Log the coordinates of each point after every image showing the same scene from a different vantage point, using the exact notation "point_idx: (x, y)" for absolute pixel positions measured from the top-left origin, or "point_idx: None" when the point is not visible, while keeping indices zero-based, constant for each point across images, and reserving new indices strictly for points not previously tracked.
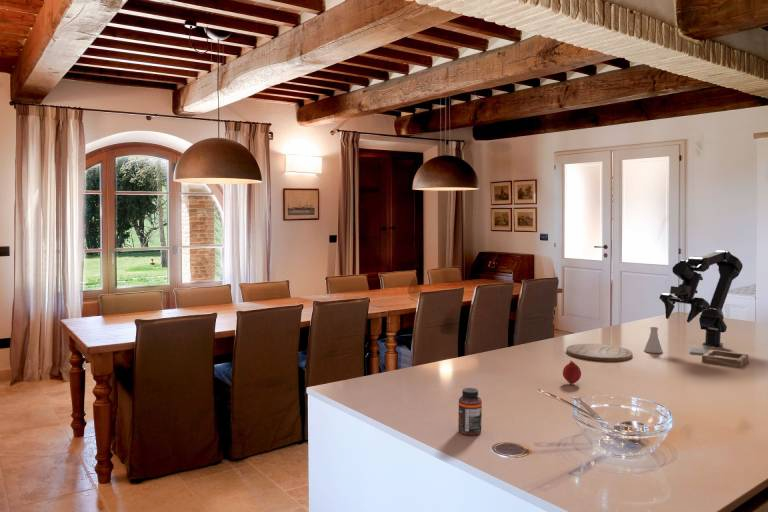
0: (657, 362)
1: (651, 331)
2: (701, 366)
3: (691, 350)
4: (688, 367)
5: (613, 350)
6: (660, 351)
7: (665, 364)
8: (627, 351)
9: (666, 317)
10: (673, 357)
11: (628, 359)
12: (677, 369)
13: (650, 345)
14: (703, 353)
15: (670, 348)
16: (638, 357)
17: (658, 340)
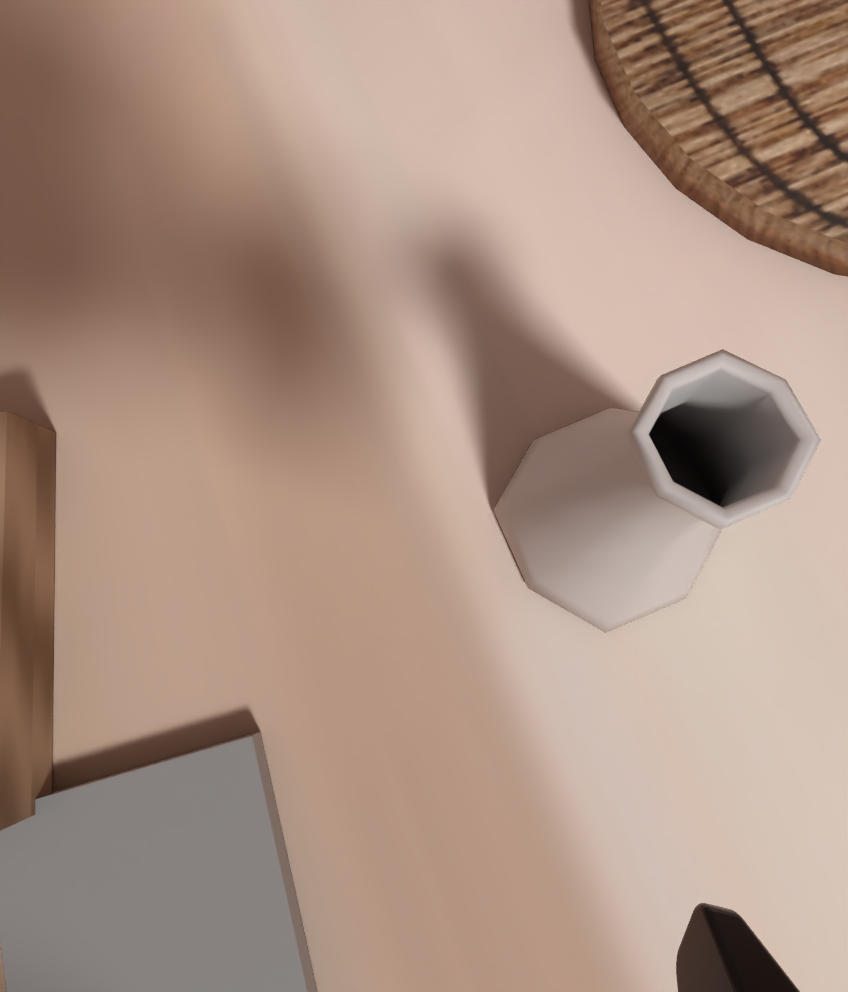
0: (358, 109)
1: (717, 405)
2: (16, 256)
3: (262, 829)
4: (93, 142)
5: (842, 55)
6: (510, 487)
7: (277, 95)
8: (715, 121)
9: (714, 913)
10: (328, 409)
11: (589, 2)
12: (143, 19)
13: (623, 412)
14: (109, 776)
15: (549, 872)
16: (575, 153)
17: (567, 478)
